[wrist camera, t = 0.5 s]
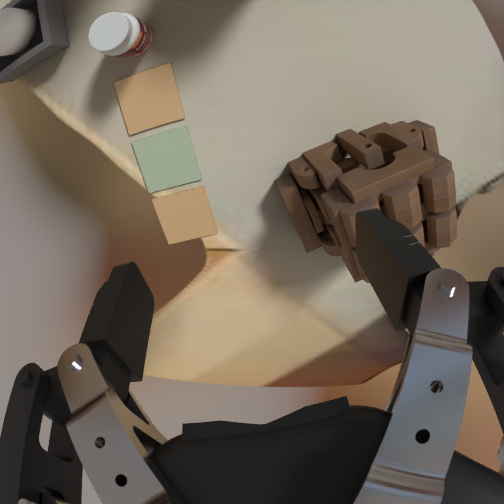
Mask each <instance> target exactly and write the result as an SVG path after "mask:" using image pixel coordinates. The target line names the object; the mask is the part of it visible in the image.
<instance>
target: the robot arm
mask: <svg viewBox="0 0 504 504" xmlns="http://www.w3.org/2000/svg"><path fill="white" fill-rule="evenodd" d="M356 255H357V259H358V262H359V264H360V266H361V268H362V269H363V271H364V273H365V275H366V276H367V278H368V280H369V282H370V284H371V285H372V287H373V289H374V291H375V293H376V294H377V296H378V298H379V300H380V302H381V304H382V305H383V307H384V309H385V311H386V313H387V315H388V317H389V319H390V321H391V323H392V325H393V326H394V328H395V330H396V332H397V331H400V330H403V329H406V328H407V329H408V331H409V333H410V336H409V339H408V343H407V347H406V350H405V354H404V358H403V361H402V365H401V368H400V371H399V374H398V377H397V380H396V383H395V386H394V389H393V392H392V394H391V397H390V399H389V402H388V404H387V407H386V410H385V411H384V410H381V409H378V408H375V407H368V406H359V405H354V406H353V405H351V406H349V403H348V399H347V397H346V396H345V397H341V398H338V399H334V400H330V401H326V402H322V403H318V404H314V405H310V406H306V407H303V408H301V409H299V410H297V411H295V412H293V413H291V414H288V415H286V416H284V417H281V418H279V419H277V420H274V421H272V422H270V423H267V424H260V425H259V424H246V423H237V422H228V421H212V422H202V423H187V424H183V428H182V434H181V435H178V436H176V437H174V438H172V439H170V440H167V439H166V438H165V437H164V436H163V435H162V434H161V433H160V432H159V431H158V430H157V428H156V427H155V426H154V424H153V423H152V421H151V420H150V419H149V417H148V416H147V414H146V413H145V411H144V410H143V408H142V407H141V405H140V404H139V402H138V401H137V399H136V398H135V396H134V395H133V393H132V392H131V391H130V390H129V385H130V382H138V381H142V377H143V371H144V364H145V358H146V351H147V345H148V339H149V334H150V328H151V323H152V317H153V312H154V299H153V295H152V292H151V290H150V288H149V287H148V285H147V283H146V282H145V279H144V278H143V276H142V274H141V272H140V270H139V268H138V267H137V265H136V264H135V263H134V262H129V263H125V264H121V265H117V266H114V267H113V269H112V272H111V274H110V277H109V279H108V281H107V282H105V283H104V285H103V286H102V287H101V288H100V290H99V291H98V292H97V295H96V297H95V300H94V305H92V308H91V310H90V314H89V316H88V318H87V321H86V324H85V327H84V329H83V333H82V335H81V338H80V341H79V344H75V345H72V346H70V347H69V348H68V349H66V350H65V351H64V352H63V354H62V355H61V357H60V359H59V361H58V364H57V366H56V367H54V368H51V369H49V370H46V371H43V370H42V369H41V368H40V367H39V366H38V365H37V364H35V363H29V364H27V365H26V366H24V367H23V368H22V369H21V370H20V371H19V373H18V374H17V376H16V379H15V382H14V385H13V389H12V392H11V395H10V399H9V402H8V406H7V410H6V414H5V418H4V423H3V427H2V432H1V437H0V504H81V496H82V495H81V494H82V470H83V469H82V468H83V467H84V469H85V471H86V473H87V475H88V477H89V479H90V481H91V483H92V485H93V487H94V489H95V491H96V492H97V494H98V496H99V498H100V500H101V501H102V503H103V504H504V436H503V437H502V440H501V444H500V449H499V451H498V454H497V457H498V460H499V461H500V462H501V465H500V470H499V472H496V471H494V470H492V469H490V468H488V467H486V466H484V465H482V464H480V463H478V462H476V461H474V460H472V459H470V458H469V457H467V456H465V455H463V454H461V453H459V452H457V451H455V450H454V448H455V445H456V441H457V437H458V434H459V429H460V425H461V421H462V416H463V412H464V407H465V402H466V397H467V391H468V385H469V378H470V371H471V363H472V359H473V361H474V363H475V366H476V368H477V370H478V372H479V374H480V376H481V379H482V381H483V383H484V385H485V387H486V390H487V392H488V394H489V397H490V399H491V402H492V404H493V407H494V409H495V411H496V415H497V417H498V420H499V423H500V425H501V428H502V431H503V434H504V335H503V333H504V267H497V268H495V269H493V270H492V271H491V273H490V275H489V278H488V281H477V282H467V280H466V279H465V278H464V277H463V276H462V275H461V274H460V273H458V272H456V271H454V270H451V269H447V268H441V267H440V266H439V265H438V263H437V262H436V261H435V260H434V259H433V257H432V256H431V255H430V254H429V253H428V251H427V250H426V249H425V248H424V247H423V245H422V244H421V243H419V241H418V240H417V239H416V237H415V236H413V235H412V233H411V232H410V231H409V229H408V228H407V227H406V226H405V225H403V224H402V223H400V222H398V221H396V220H394V219H389V220H388V219H387V218H386V217H385V215H384V214H383V213H382V212H381V211H380V210H379V209H378V208H373V209H368V210H363V211H359V212H357V213H356ZM43 414H44V415H45V416H46V417H48V418H49V419H51V420H52V427H51V433H50V440H49V447H48V452H47V451H45V450H44V449H43V448H42V447H41V445H40V443H39V433H40V427H41V422H42V416H43Z"/></svg>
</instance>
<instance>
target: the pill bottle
mask: <svg viewBox="0 0 504 504" xmlns="http://www.w3.org/2000/svg"><path fill="white" fill-rule="evenodd" d="M152 38H153V33H152V30H151V28H150V26H149V25H148V24H146V23H145V22H143V21H141V20H140V19H138V18H136V17H135V16H133V15H131V14H129V13H118V12H109V13H106V14H104V15H102V16H100V17H99V18H97V19H96V20H95V21H94V23H93V24H92V26H91V28H90V30H89V34H88V39H89V43H90V45H91V46H92V47H93V48H94V49H95V50H98V51H100V52H101V53H103V54H105V55H108V56H118V57H128V58H131V57H136V56H139V55H141V54H142V53H144V52H145V51H146V50H147V49H148V48H149V46H150V44H151V42H152Z"/></svg>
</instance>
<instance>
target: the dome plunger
mask: <svg viewBox="0 0 504 504" xmlns="http://www.w3.org/2000/svg"><path fill="white" fill-rule="evenodd" d="M36 27H37V19H36V15H35V14H34V12H32V11H31V10H26V9H18V8H9V7H8V8H4V9H1V10H0V56H6V55H15V54H18V53H20V52H21V51H23V50H24V49H25V48H26V47H27V46H28V45H29V43H30V42H31V40H32V38H33V36H34V34H35V31H36Z"/></svg>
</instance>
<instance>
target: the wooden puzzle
mask: <svg viewBox="0 0 504 504" xmlns="http://www.w3.org/2000/svg"><path fill="white" fill-rule="evenodd" d="M359 133H360V134H358V133H356V132H355V131H353V130H351V129H348V130H346V131H343V132H341V133H338V134H336V136H337V139H338V142H339V145H340V148H341V149H342V150H343V151H345V152H346V153H347V154H349V155H350V156H351V158H346V159H342V157H341V154H340V151H339V149H338V146H337V144H335V143H334V142H333V141H330V142H328V143H325V144H323V145H321V146H318V147H316V148H313V149H311V150H309V151H306V152H304V153H303V156H304V157H303V156H302V157H299V158H297V159H295V160H293V161H290V162H288V165H289V167H290V170H291V172H292V174H293V176H294V177H295V179H296V180H297V182H298V184H299V185H300V186H299V187H297V186H296V184H295V182H294V181H293V179H292V177H291V176H290V174H287V175H285V176H282V177H280V178H278V179H276V180H275V183H276V185H277V187H278V190H279V192H280V194H281V196H282V199H283V201H284V203H285V205H286V207H287V209H288V211H289V214H290V216H291V218H292V220H293V222H294V225H295V227H296V229H297V231H298V234H299V236H300V238H301V240H302V243H303V245H304V247H305V249H306V252H307V253H308V252H310V251H312V250H315V249H317V248H319V247H321V244H322V246H323V248H324V250H325V251H326V252H327V253H328V254H330V255H332V256H341V255H342V257H343V261H344V262H345V264H346V266H347V268H348V270H349V272H350V273H351V275H352V277H353V279H354V281H355V282H358V281H360V280H362V279H363V280H364V281H366V282H367V283H370V282H369V280H368V278H367V276H366V275H365V273H364V271H363V269H362V268H361V266H360V264H359V262H358V259H357V255H356V213H357V212H359V211H363V210H368V209H373V208H378V209H379V210H380V211H381V212H382V213H383V214H384V215H385V217H386V218H387V219H388V220H389V219H394V220H396V221H398V222H400V223H402V224H403V225H405V226H406V227H407V228H408V229H409V231H410V232H411V233H412V235H413V236H415V237H416V239H417V240H418V241H419V243H421V244H422V245H423V247H424V248H425V249H426V250H427V251H428V253H429V254H431V253H433V252H435V251H437V250H439V249H440V248H443V247H449V246H450V245H451V244H452V243H453V242H454V240H455V239H456V237H457V213H456V210H455V203H456V192H455V178H454V172H453V170H452V162H451V161H450V160H448V159H446V158H445V157H443V156H441V155H439V149H438V143H437V138H436V132H435V127H433V126H430V125H428V124H426V123H423V122H421V121H418V120H416V121H413V122H411V123H406V122H403V121H400V122H397V123H394V124H388V123H386V122H384V123H381V124H379V125H376V126H373V127H371V128H368V129H365V130H363V131H360V132H359ZM305 189H308V190H309V192H310V194H308V193H307V192H306V190H305ZM303 201H304V202H303ZM304 203H305V204H304ZM305 205H306V207H307V209H308V210H307V209H306V207H305ZM318 238H319V239H318ZM319 240H320V241H319ZM320 242H321V244H320ZM433 259H434V258H433ZM434 260H435V259H434ZM438 265H439V264H438Z"/></svg>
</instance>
